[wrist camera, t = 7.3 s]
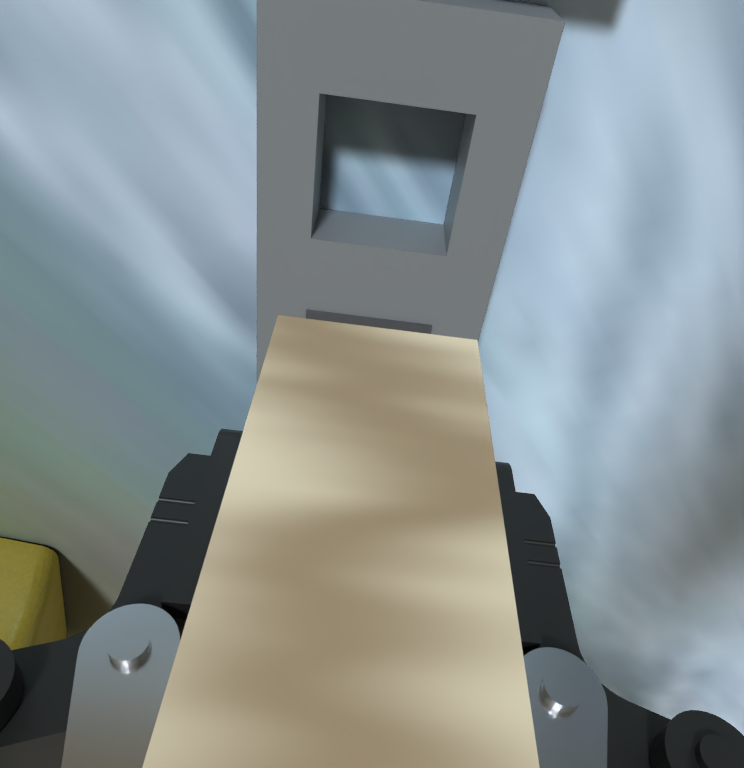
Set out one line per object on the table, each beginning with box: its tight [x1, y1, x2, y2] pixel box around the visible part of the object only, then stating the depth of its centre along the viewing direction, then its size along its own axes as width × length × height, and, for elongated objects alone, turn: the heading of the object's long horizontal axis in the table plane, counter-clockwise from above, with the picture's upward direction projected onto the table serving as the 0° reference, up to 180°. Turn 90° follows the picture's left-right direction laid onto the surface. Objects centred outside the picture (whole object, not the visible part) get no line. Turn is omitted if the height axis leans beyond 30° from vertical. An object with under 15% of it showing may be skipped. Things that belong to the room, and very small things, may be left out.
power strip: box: [257, 0, 565, 383], centre depth 28 cm, size 10×22×4 cm, turn 173°
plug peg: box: [142, 315, 540, 768], centre depth 10 cm, size 4×4×9 cm
